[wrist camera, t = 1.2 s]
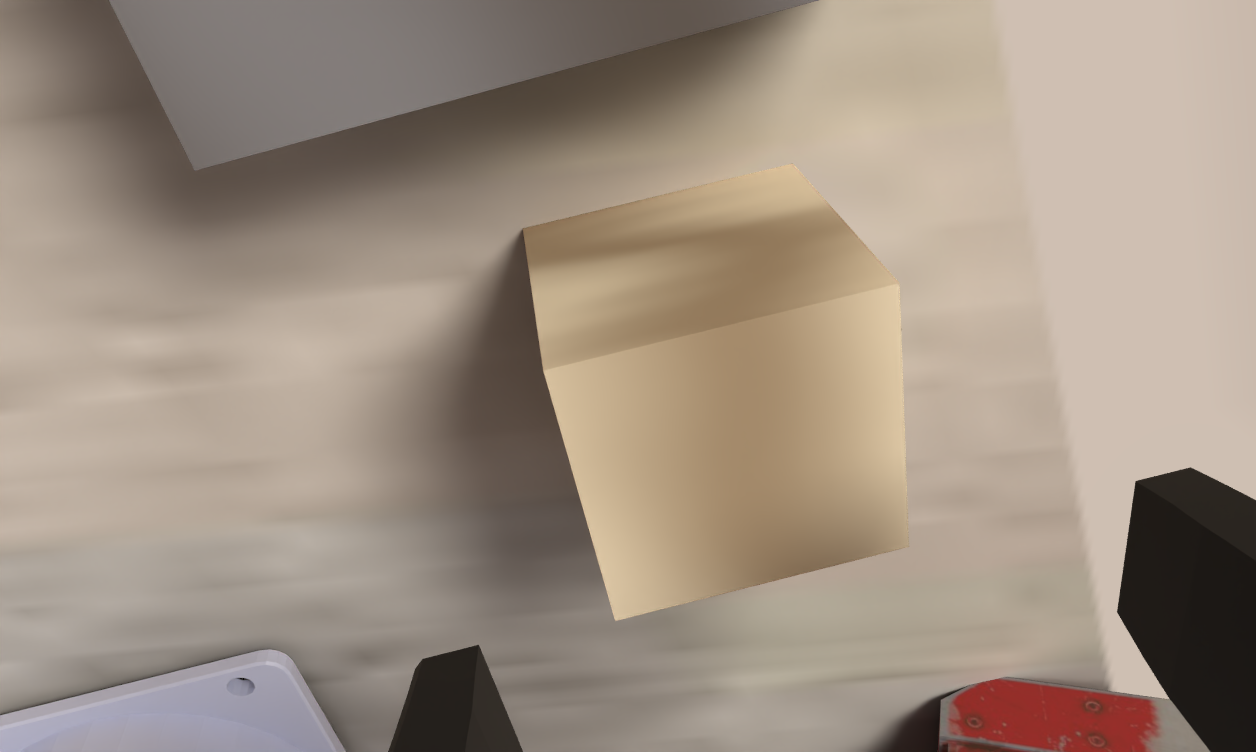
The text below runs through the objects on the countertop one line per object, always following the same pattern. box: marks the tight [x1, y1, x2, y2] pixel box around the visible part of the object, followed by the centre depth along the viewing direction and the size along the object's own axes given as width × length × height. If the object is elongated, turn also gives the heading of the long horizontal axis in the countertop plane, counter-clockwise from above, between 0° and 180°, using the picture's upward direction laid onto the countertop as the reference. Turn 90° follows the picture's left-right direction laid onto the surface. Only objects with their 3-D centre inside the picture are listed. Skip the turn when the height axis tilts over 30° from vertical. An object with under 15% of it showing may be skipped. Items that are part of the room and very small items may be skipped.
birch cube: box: [523, 164, 909, 621], centre depth 15 cm, size 4×4×4 cm
